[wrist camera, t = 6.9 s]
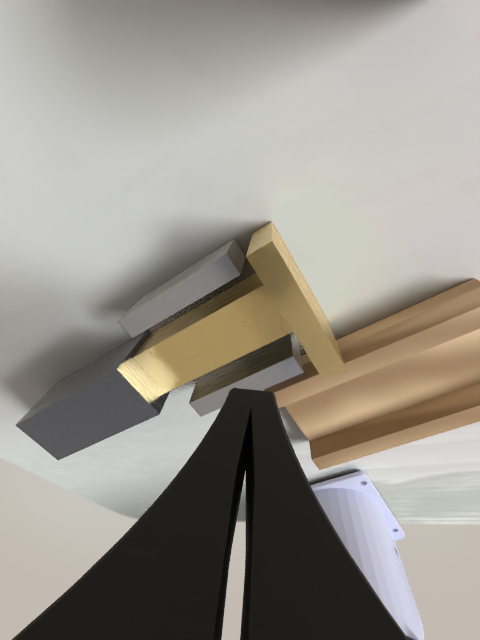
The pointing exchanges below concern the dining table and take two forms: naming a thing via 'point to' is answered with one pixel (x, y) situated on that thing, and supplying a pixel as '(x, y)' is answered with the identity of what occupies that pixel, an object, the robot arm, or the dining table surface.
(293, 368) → the sleeve
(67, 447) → the tall gray pillar
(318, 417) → the rack
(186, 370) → the tan blocky piece
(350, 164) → the dining table surface
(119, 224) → the dining table surface
